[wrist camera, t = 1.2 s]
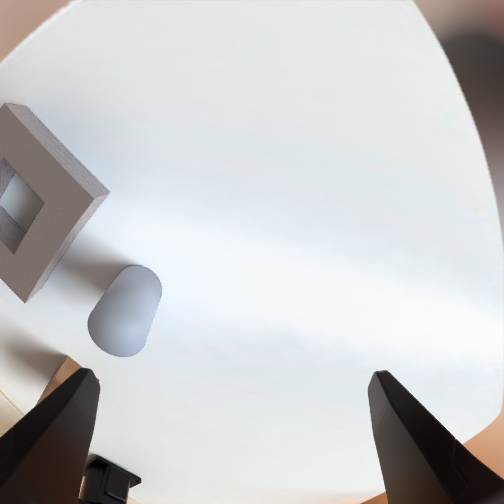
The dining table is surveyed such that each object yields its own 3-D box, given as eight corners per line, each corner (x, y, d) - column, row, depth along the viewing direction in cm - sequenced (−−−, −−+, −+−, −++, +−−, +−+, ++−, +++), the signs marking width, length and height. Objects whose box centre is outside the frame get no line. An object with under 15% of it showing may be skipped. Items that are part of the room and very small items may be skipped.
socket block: (42, 287, 21) (24, 303, 18) (-30, 206, 18) (-51, 214, 16) (110, 191, 20) (94, 198, 17) (26, 106, 17) (4, 103, 14)
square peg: (82, 397, 25) (61, 450, 18) (53, 374, 24) (25, 424, 17) (99, 380, 25) (77, 436, 18) (67, 355, 24) (37, 408, 17)
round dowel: (142, 318, 23) (124, 366, 17) (106, 288, 22) (77, 329, 16) (171, 288, 22) (158, 332, 17) (134, 255, 21) (108, 291, 16)
